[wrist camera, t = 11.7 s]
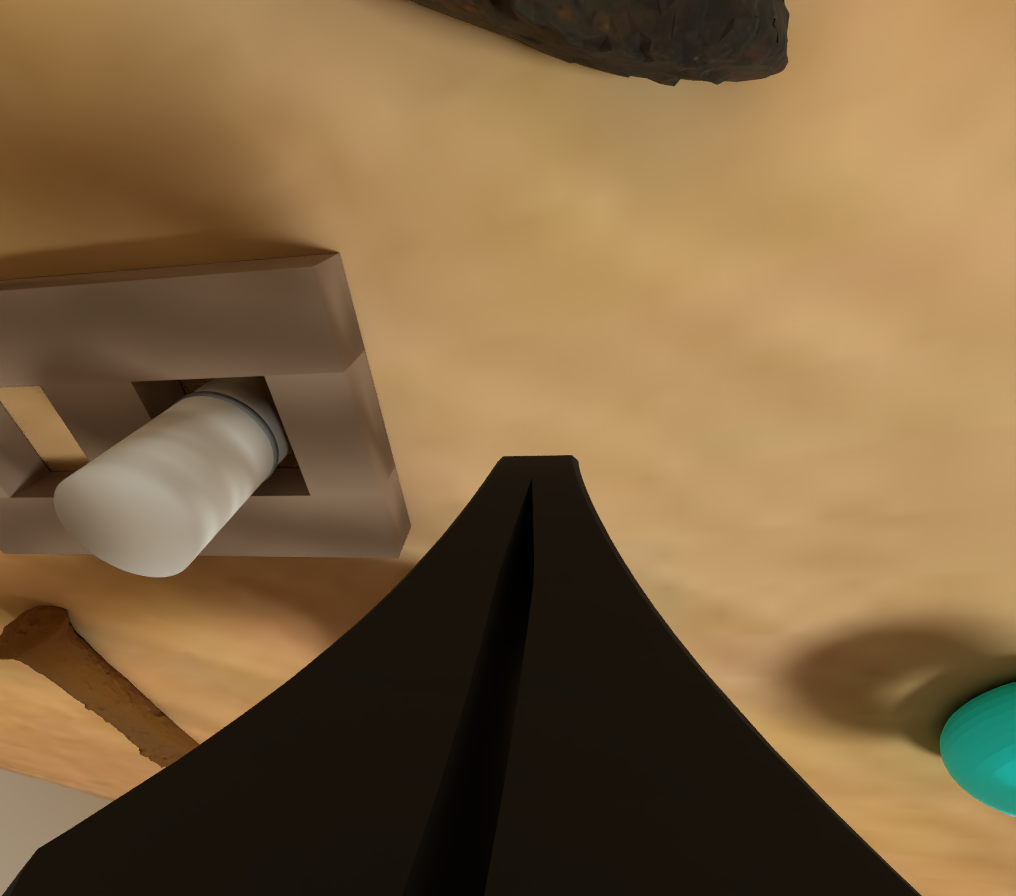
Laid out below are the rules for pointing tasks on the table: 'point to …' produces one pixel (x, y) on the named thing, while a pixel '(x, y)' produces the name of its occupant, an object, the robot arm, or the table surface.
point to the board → (197, 355)
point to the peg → (175, 478)
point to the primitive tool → (92, 681)
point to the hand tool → (643, 34)
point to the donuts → (984, 747)
